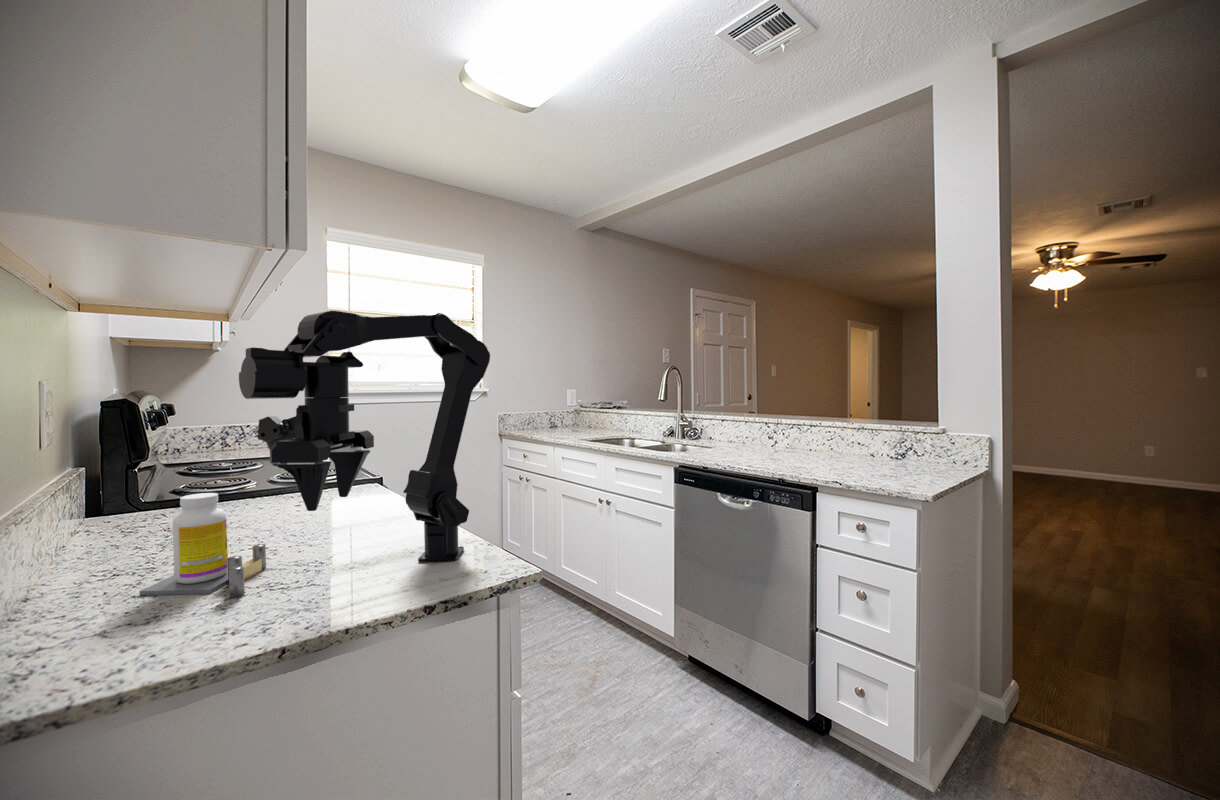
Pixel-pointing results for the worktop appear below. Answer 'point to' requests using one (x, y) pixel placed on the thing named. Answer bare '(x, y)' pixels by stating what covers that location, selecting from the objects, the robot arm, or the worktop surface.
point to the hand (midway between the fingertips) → (328, 503)
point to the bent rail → (245, 570)
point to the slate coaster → (185, 587)
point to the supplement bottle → (199, 539)
